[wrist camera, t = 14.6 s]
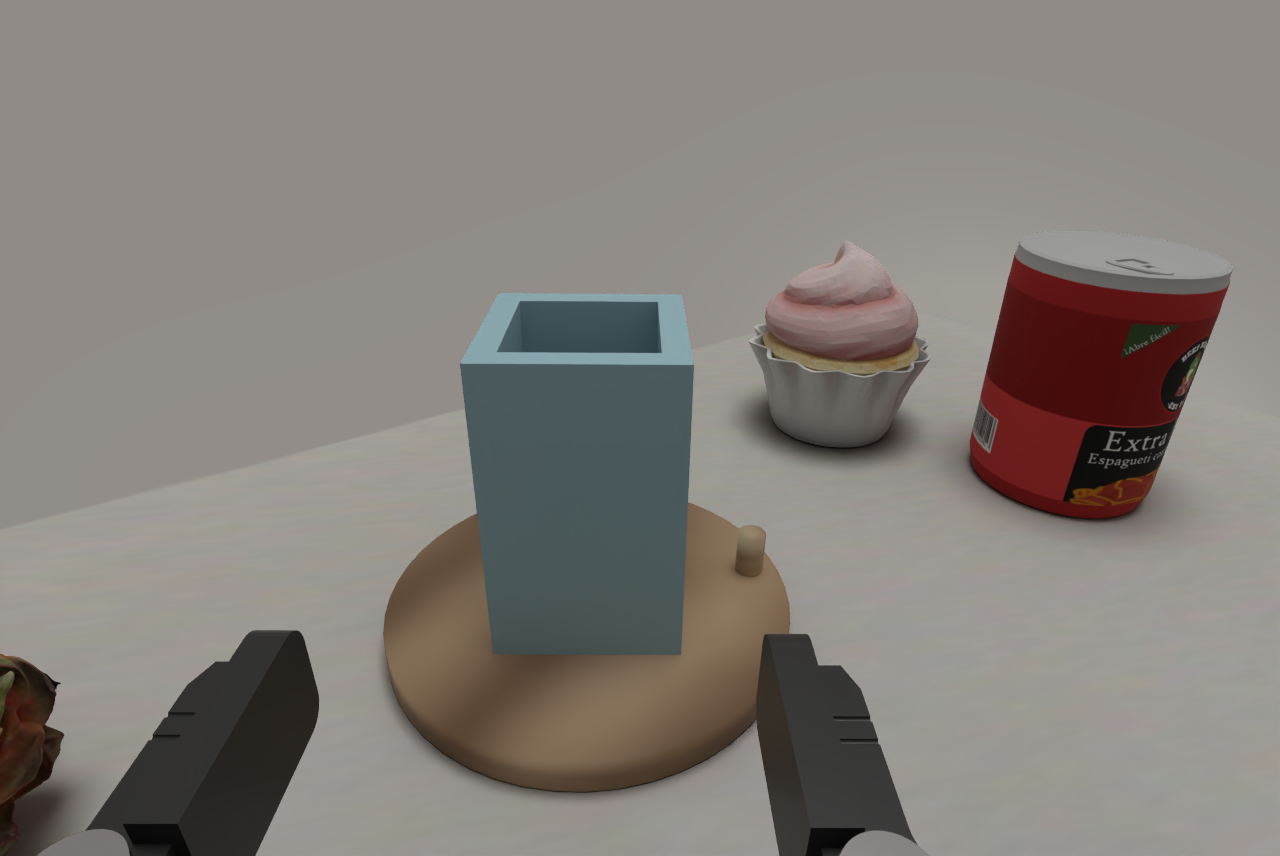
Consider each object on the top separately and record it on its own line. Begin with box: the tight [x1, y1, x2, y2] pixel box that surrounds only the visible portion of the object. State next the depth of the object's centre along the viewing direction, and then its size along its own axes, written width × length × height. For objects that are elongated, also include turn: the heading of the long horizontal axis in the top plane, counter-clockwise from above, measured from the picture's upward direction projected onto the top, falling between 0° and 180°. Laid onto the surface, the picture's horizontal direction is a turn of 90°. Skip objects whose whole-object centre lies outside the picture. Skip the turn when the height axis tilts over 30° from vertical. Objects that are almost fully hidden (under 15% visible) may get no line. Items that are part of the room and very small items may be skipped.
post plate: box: [383, 503, 790, 792], centre depth 25 cm, size 14×14×8 cm
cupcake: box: [749, 241, 931, 447], centre depth 39 cm, size 9×9×10 cm
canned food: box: [970, 230, 1233, 518], centre depth 33 cm, size 8×8×11 cm
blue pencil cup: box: [460, 293, 694, 655], centre depth 24 cm, size 6×6×10 cm
